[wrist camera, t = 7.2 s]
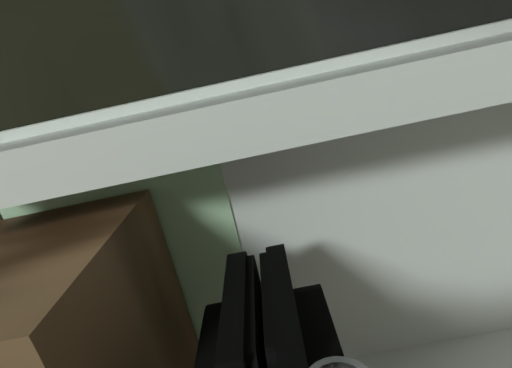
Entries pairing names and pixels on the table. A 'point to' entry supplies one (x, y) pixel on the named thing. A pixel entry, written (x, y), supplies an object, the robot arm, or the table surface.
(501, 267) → the chute
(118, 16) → the table surface
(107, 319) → the walnut block
